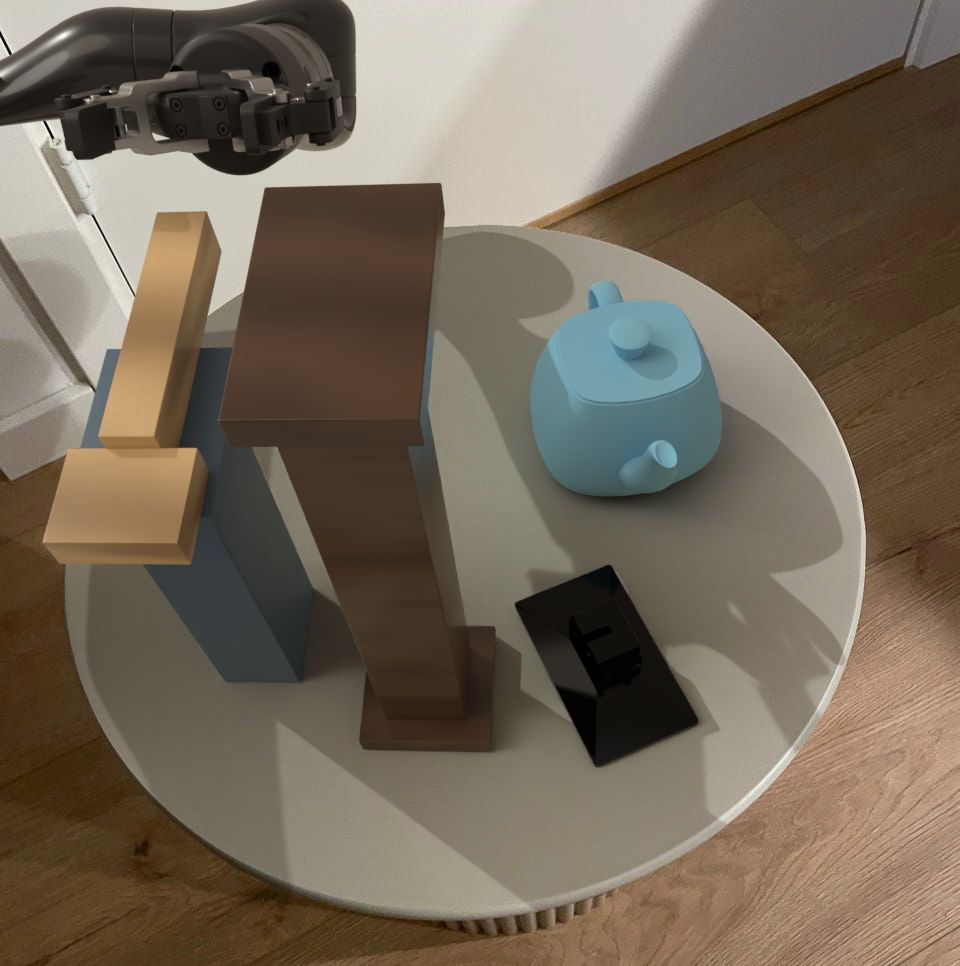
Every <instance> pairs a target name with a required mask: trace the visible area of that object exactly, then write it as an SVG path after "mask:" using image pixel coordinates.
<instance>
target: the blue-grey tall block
mask: <svg viewBox="0 0 960 966" xmlns="http://www.w3.org/2000/svg"><path fill="white" fill-rule="evenodd" d="M232 348H233V346H231V347H201V349H200V353H199V358H198V362H197V367H196V371H195V376H194V381H193V385H192V390H191V394H190V399H189V403H188V408H187V413H186V417H185V422H184V426H183V431H182V436H181V440H180V445H179V448H198V450H199V452H200V454H201V456H202V458H203V460H204V462H205V463H206V465H207V467H208V469H209V471H210V472H209V477H208V482H207V487H206V492H205V497H204V502H203V507H202V512H201V517H200V522H199V527H198V532H197V537H196V542H195V547H194V552H193V557H192V562H191V564H190V565H188V564H142V566H143V568H144V569H145V570H146V572H147V573H148V575H149V576H150V577H151V579H152V580H153V581H154V583H155V584H156V586H157V587H158V589H159V590H160V591H161V593H162V595H163V596H164V597H165V599H166V600H167V601H168V604H170V606H171V608H172V609H173V610H174V611H175V613H176V614H177V616H178V618H179V619H180V620H181V621H182V623H183V624H184V626H185V627H186V628H187V630H188V631H189V633H190V634H191V635H192V637H193V638H194V640H195V641H196V642H197V644H198V646H199V647H200V648H201V650H202V651H203V653H204V654H205V655H206V657H207V658H208V659H209V661H210V662H211V664H212V666H213V667H214V668H215V670H216V671H217V673H218V674H219V675H220V677H221V678H222V680H223V681H224V682H238V683H243V682H244V683H245V682H246V683H249V682H250V683H253V682H254V683H301V681H302V680H301V679H302V672H303V666H304V659H305V651H306V643H307V637H308V629H309V621H310V613H311V607H312V599H313V592H314V587H313V585H312V582H311V581H310V578H309V576H308V573H307V571H306V569H305V567H304V564H303V562H302V559H301V557H300V555H299V553H298V551H297V548H296V546H295V543H294V541H293V539H292V537H291V535H290V534H291V533H290V532H289V530H288V527H287V525H286V523H285V521H284V518H283V516H282V514H281V511H280V509H279V507H278V504H277V502H276V500H275V497H274V495H273V493H272V491H271V488H270V486H269V484H268V482H267V479H266V477H265V475H264V472H263V469H262V468H261V465H260V463H259V461H258V458H257V456H256V454H255V452H254V449H253V447H230V446H229V444H228V442H227V440H226V437H225V435H224V433H223V431H222V429H221V427H220V425H219V422H218V418H219V413H220V408H221V403H222V398H223V393H224V388H225V383H226V378H227V373H228V368H229V363H230V358H231V353H232ZM120 351H121V348H106V351H105V355H104V359H103V362H102V366H101V369H100V373H99V377H98V381H97V384H96V388H95V392H94V395H93V398H92V403H91V406H90V410H89V414H88V418H87V420H86V425H85V428H84V432H83V435H82V439H81V443H80V447H79V448H105V447H104V445H103V444H102V442H101V441H100V439H99V437H98V435H99V431H100V427H101V423H102V420H103V416H104V412H105V408H106V404H107V401H108V397H109V393H110V389H111V385H112V382H113V378H114V374H115V370H116V366H117V363H118V359H119V355H120Z"/></svg>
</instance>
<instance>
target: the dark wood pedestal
mask: <svg viewBox="0 0 960 966" xmlns="http://www.w3.org/2000/svg"><path fill="white" fill-rule="evenodd" d="M257 218H258V219H257V224H256V229H255V234H254V239H253V244H252V248H251V254H250V259H249V264H248V268H247V273H246V279H245V284H244V288H243V294H242V299H241V304H240V309H239V313H238V318H237V324H236V328H235V332H234V333H235V334H234V338H233V344H232V347H233V348H232V353H231V358H230V363H229V368H228V373H227V378H226V383H225V388H224V393H223V398H222V403H221V408H220V413H219V418H218V422H219V425H220V427H221V429H222V431H223V433H224V435H225V437H226V440H227V442H228V444H229V446H230V447H252V448H277V450H278V453H279V455H280V458H281V460H282V463H283V465H284V468H285V470H286V473H287V475H288V478H289V480H290V483H291V485H292V488H293V491H294V493H295V495H296V498H297V500H298V503H299V504H300V508H301V510H302V513H303V516H304V518H305V520H306V523H307V525H308V529H309V530H310V533H311V535H312V538H313V540H314V543H315V545H316V548H317V550H318V553H319V555H320V558H321V561H322V563H323V565H324V569H325V570H326V573H327V576H328V578H329V580H330V582H331V585H332V586H331V587H332V588H333V590H334V593H335V595H336V598H337V600H338V604H339V606H340V608H341V610H342V613H343V616H344V618H345V620H346V622H347V625H348V628H349V631H350V633H351V636H352V638H353V640H354V643H355V645H356V648H357V650H358V653H359V655H360V658H361V661H362V663H363V666H364V668H365V679H364V686H363V687H364V688H363V697H362V706H361V717H360V724H359V725H360V726H359V735H358V736H359V737H358V742H359V744H360V747H361V748H362V750H364V751H366V750H367V751H409V752H411V751H415V752H416V751H417V752H458V753H459V752H462V753H463V752H464V753H465V752H467V753H468V752H469V753H492V746H493V726H494V725H493V724H494V703H495V702H494V701H495V681H496V680H495V679H496V678H495V677H496V659H497V658H496V657H497V630H496V626H495V625H467V619H466V615H465V608H464V603H463V598H462V592H461V586H460V580H459V575H458V570H457V564H456V557H455V552H454V547H453V541H452V535H451V530H450V524H449V518H448V512H447V507H446V501H445V495H444V491H443V485H442V479H441V473H440V469H439V461H438V456H437V451H436V444H435V439H434V434H433V428H432V422H431V417H430V410H429V400H430V390H431V379H432V367H433V357H434V356H433V355H434V344H435V333H436V332H435V331H436V321H437V311H438V297H439V288H440V287H439V286H440V274H441V263H442V253H443V240H444V232H445V231H444V230H445V218H446V210H445V201H444V194H443V185H442V183H441V182H419V183H418V182H416V183H380V184H379V183H376V184H375V183H373V184H341V185H339V184H338V185H337V184H336V185H303V186H302V185H300V186H267V187H264V188H263V194H262V198H261V204H260V208H259V213H258V217H257Z"/></svg>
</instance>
